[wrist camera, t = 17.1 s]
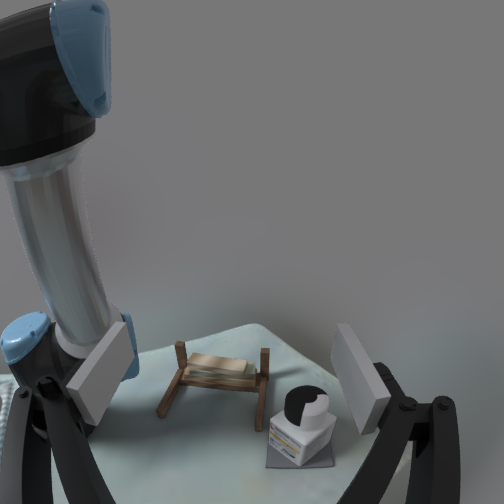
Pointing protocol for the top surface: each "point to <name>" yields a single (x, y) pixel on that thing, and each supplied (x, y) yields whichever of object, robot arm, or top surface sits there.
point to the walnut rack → (179, 379)
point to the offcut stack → (220, 370)
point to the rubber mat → (282, 462)
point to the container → (302, 424)
